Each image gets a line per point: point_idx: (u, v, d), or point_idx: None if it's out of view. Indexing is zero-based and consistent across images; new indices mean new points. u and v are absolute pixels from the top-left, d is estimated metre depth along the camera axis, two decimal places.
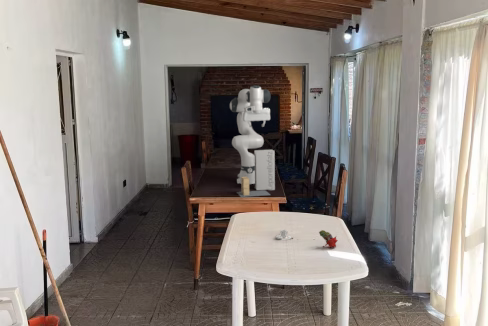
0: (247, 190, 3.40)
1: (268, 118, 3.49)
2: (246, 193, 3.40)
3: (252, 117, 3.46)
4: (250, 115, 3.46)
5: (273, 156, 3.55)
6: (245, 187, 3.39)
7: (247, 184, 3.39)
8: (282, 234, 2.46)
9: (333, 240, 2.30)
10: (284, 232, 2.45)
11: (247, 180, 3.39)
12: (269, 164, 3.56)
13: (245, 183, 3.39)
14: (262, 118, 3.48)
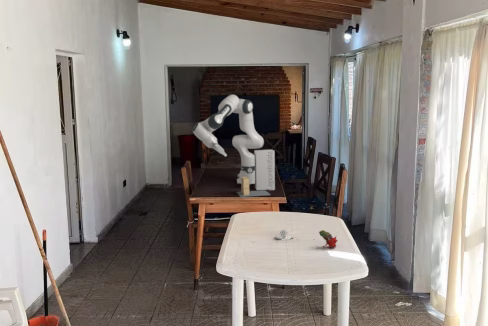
0: (247, 190, 3.40)
1: (219, 152, 3.27)
2: (246, 193, 3.40)
3: (215, 149, 3.38)
4: (213, 147, 3.39)
5: (273, 156, 3.55)
6: (245, 187, 3.39)
7: (247, 184, 3.39)
8: (282, 234, 2.46)
9: (333, 240, 2.30)
10: (284, 232, 2.45)
11: (247, 180, 3.39)
12: (269, 164, 3.56)
13: (245, 183, 3.39)
14: None
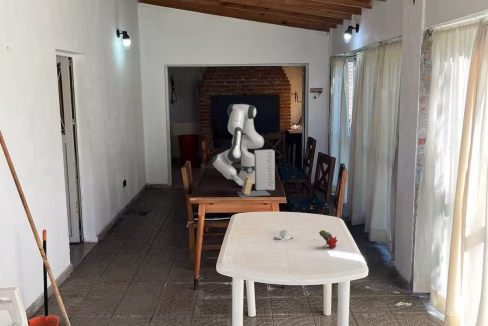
0: (248, 190, 3.40)
1: None
2: (247, 192, 3.40)
3: None
4: None
5: (273, 156, 3.55)
6: (247, 186, 3.40)
7: (250, 184, 3.40)
8: (281, 234, 2.46)
9: (333, 240, 2.30)
10: (283, 232, 2.45)
11: (251, 180, 3.40)
12: (269, 164, 3.56)
13: (248, 182, 3.39)
14: None
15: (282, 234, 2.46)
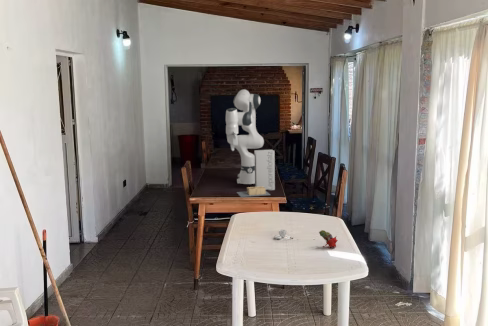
0: (254, 192, 3.41)
1: (232, 143, 3.33)
2: (251, 192, 3.41)
3: (229, 140, 3.44)
4: (228, 137, 3.45)
5: (273, 156, 3.55)
6: (257, 190, 3.42)
7: (260, 192, 3.42)
8: (281, 234, 2.46)
9: (333, 240, 2.30)
10: (283, 232, 2.45)
11: (263, 192, 3.43)
12: (269, 164, 3.56)
13: (261, 190, 3.42)
14: (231, 142, 3.37)
15: (281, 234, 2.46)
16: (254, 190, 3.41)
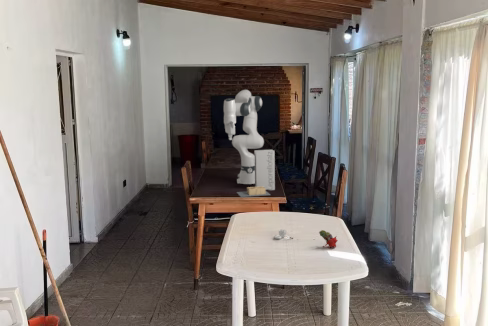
0: (254, 192, 3.41)
1: (229, 132, 3.38)
2: (251, 192, 3.41)
3: (226, 130, 3.50)
4: (226, 127, 3.51)
5: (273, 156, 3.55)
6: (257, 190, 3.42)
7: (260, 192, 3.42)
8: (281, 234, 2.46)
9: (333, 240, 2.30)
10: (283, 232, 2.45)
11: (263, 192, 3.43)
12: (269, 164, 3.56)
13: (261, 190, 3.42)
14: (228, 132, 3.43)
15: (281, 234, 2.46)
16: (254, 190, 3.41)
